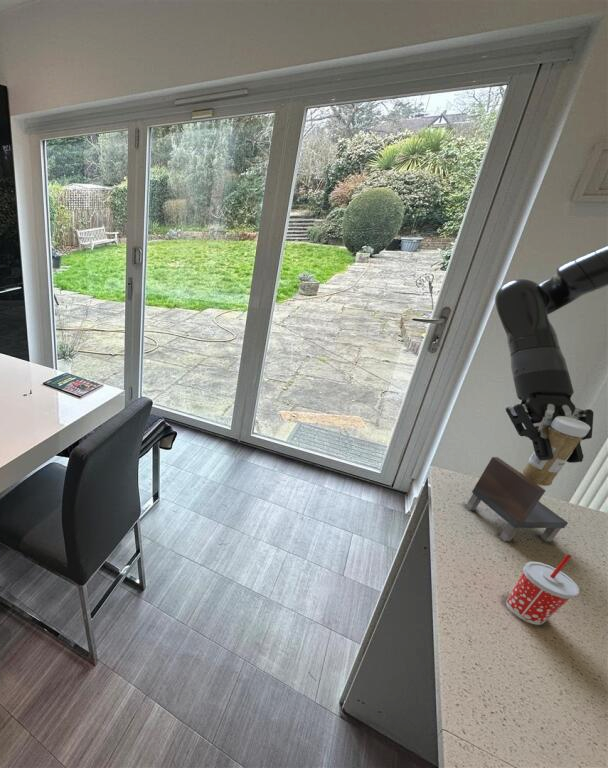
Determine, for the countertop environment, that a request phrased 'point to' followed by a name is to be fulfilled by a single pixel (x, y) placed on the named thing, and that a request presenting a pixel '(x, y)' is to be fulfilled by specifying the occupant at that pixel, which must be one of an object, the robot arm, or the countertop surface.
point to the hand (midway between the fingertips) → (560, 460)
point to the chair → (514, 500)
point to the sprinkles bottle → (556, 449)
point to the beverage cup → (541, 592)
